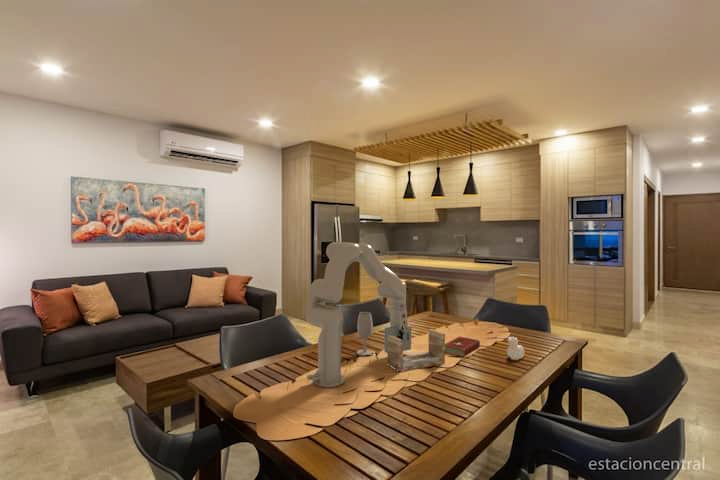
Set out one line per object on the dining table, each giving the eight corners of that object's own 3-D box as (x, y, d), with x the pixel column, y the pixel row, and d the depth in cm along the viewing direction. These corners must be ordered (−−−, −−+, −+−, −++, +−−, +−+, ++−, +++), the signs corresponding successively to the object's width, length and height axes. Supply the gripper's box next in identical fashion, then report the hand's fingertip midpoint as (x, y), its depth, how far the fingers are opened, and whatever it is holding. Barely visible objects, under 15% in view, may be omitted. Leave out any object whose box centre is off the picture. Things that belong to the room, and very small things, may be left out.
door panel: (387, 353, 185) (388, 329, 185) (384, 351, 189) (384, 327, 188) (411, 349, 192) (411, 326, 192) (407, 347, 195) (407, 324, 195)
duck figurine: (521, 359, 191) (509, 339, 196) (532, 353, 186) (520, 332, 191) (507, 364, 184) (495, 342, 190) (518, 358, 179) (505, 336, 185)
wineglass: (373, 356, 189) (373, 315, 188) (356, 356, 189) (356, 315, 188) (373, 351, 197) (373, 311, 197) (356, 350, 198) (356, 311, 197)
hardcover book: (479, 347, 206) (479, 339, 205) (464, 357, 189) (464, 349, 189) (459, 343, 213) (459, 335, 213) (442, 352, 197) (442, 344, 196)
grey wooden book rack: (399, 371, 168) (399, 341, 168) (387, 364, 177) (387, 335, 177) (444, 362, 180) (444, 333, 180) (431, 356, 189) (431, 328, 189)
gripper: (414, 308, 184) (413, 345, 185) (396, 303, 199) (395, 337, 199) (401, 309, 181) (400, 347, 181) (383, 304, 195) (383, 339, 196)
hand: (397, 342), depth 190 cm, fingers closed on door panel, 3 cm apart
